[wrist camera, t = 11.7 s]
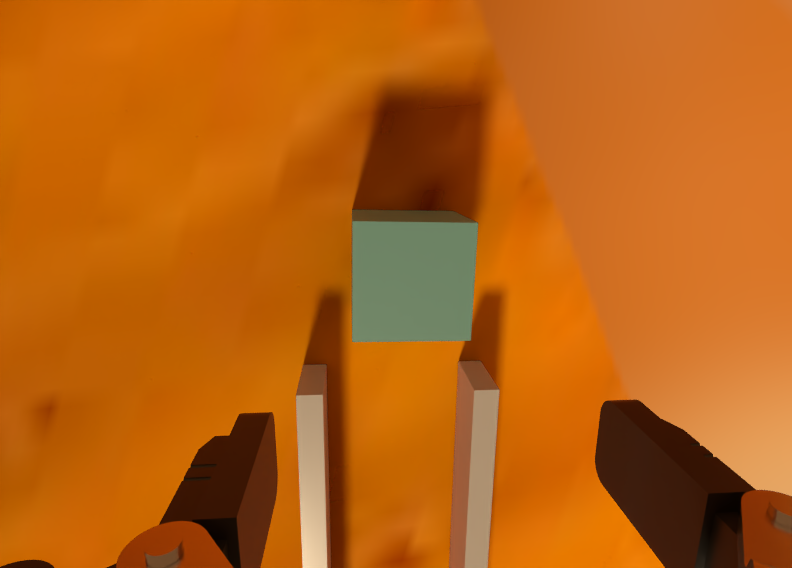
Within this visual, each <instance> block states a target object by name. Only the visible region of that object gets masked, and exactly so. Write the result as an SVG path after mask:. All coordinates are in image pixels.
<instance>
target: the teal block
mask: <svg viewBox="0 0 792 568" xmlns="http://www.w3.org/2000/svg"><path fill="white" fill-rule="evenodd" d="M477 232H478V223H477V222H475V221H473V220H471V219H469V218H467V217H465V216H463V215H461V214H459V213H457V212H454V211H420V210H353V209H352V342H399V341H471V329H472V313H473V297H474V281H475V265H476V248H477Z"/></svg>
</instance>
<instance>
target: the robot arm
mask: <svg viewBox="0 0 792 568" xmlns="http://www.w3.org/2000/svg"><path fill="white" fill-rule="evenodd" d="M595 464H596V470H597V474H598V477H599V479H600V481H601V483H602V485H603V486H604V487H605V489H606V490H607V491H608V493H609V494H610V495H611V497H612V498H613V499H614V501H615V502H616V503H617V505H618V506H619V507H620V509H621V510H622V511H623V512H624V514H625V515H626V516H627V518H628V519H629V520H630V522H631V523H632V524H633V526H634V527H635V528H636V530H637V531H638V532H639V534H640V535H641V536H642V538H643V539H644V540H645V541H646V543H647V544H648V545H649V547H650V548H651V549H652V551H653V552H654V553H655V555H656V556H657V557H658V559H659V560H660V561H661V563H662V564H663V565H664V566H665V568H792V496H789V495H786V494H783V493H779V492H774V491H768V490H756V489H754V488H753V487H752V486H751V485H749V484H748V483H747V482H746V481H745V480H743V479H742V478H741V477H740V476H739V475H737V474H736V473H735V472H734V471H733V470H731V469H730V468H729V467H728V466H727V465H725V464H724V463H723V462H722V461H720V460H719V459H718V458H717V457H713V454H712V453H711V452H710V451H708V450H707V449H706V448H705V447H703V446H700V443H699V442H698V441H696V440H695V439H694V438H692V437H691V436H690V435H689V434H688V433H687V432H685V431H684V430H683V429H681V428H679V427H677V426H675V425H673V424H671V423H669V422H666V421H664V420H663V419H660V418H659V417H658V416H657V415H656V414H654V413H653V412H652V411H651V410H650V409H649V408H647V407H646V406H645V405H644V404H643V403H641V402H640V401H638V400H614V401H605V402H604V403H603V405H602V407H601V412H600V421H599V429H598V438H597V446H596V454H595ZM277 478H278V474H277V456H276V440H275V424H274V416H273V413H272V412H269V413H242V414H239V416H238V418H237V420H236V422H235V425H234V427H233V429H232V431H231V434H230V436H215V437H213V438H212V439H211V440H210V441H209V442H207V443H206V444H205V445H204V446H203V447H201V448H200V449H199V450H198V452H197V454H196V456H195V458H194V459H193V461H192V463H191V467H190V468H189V469H188V471H187V473H186V475H185V477H184V481H182V482H181V484H180V486H179V488H178V490H177V492H176V494H175V495H174V497H173V499H172V501H171V503H170V505H169V507H168V509H167V511H166V512H165V514H164V516H163V518H162V520H161V522H160V524H159V525H158V526H155V527H153V528H150V529H149V530H147V531H145V532H143V533H141V534H140V535H138V536H137V537H135V538H134V539H133V540H132V541H131V542H130V543H129V544H128V545H127V546H126V547H125V548H124V549H123V551H122V552H121V554H120V555H119V557H118V560H117V563H116V564H114V565H112V566H109V567H107V568H260V567H261V562H262V558H263V553H264V549H265V544H266V540H267V536H268V531H269V527H270V522H271V518H272V514H273V509H274V505H275V500H276V494H277ZM0 568H54V567H53V566H52V565H51V564H50V563H48V562H45V561H41V560H25V561H18V562H14V563H11V564H7V565H4V566H2V567H0Z"/></svg>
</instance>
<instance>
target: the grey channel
mask: <svg viewBox="0 0 792 568" xmlns="http://www.w3.org/2000/svg"><path fill="white" fill-rule="evenodd" d="M498 404H499V388H498V387H497V385H496V384H495V382H494V381H493V379H492V377H491V376H490V374H489V373H488V371H487V370H486V368H485V367H484V365H483V364H482V362H481V361H459V362H458V384H457V406H456V428H455V450H454V472H453V494H452V517H451V539H450V561H449V568H487V567H488V552H489V537H490V522H491V507H492V493H493V478H494V463H495V448H496V433H497V418H498ZM296 409H297V434H298V459H299V485H300V510H301V535H302V560H303V568H331V538H330V494H329V451H328V408H327V365H326V364H315V365H303V368H302V372H301V376H300V381H299V385H298V389H297V393H296Z"/></svg>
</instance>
